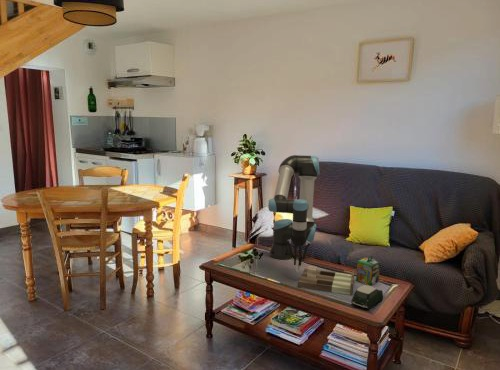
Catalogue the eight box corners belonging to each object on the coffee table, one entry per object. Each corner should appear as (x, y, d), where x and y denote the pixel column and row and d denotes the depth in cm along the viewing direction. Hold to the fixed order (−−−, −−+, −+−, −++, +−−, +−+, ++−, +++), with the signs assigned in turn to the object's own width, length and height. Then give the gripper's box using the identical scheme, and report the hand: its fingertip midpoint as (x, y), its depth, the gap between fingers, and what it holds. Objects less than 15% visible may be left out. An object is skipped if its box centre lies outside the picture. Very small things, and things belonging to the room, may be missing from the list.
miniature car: (384, 299, 186) (385, 284, 185) (367, 312, 173) (368, 295, 172) (366, 293, 192) (368, 278, 191) (349, 305, 179) (350, 289, 178)
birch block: (308, 273, 208) (308, 266, 207) (316, 275, 206) (317, 267, 206) (307, 277, 203) (307, 268, 203) (315, 278, 202) (316, 270, 201)
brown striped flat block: (304, 273, 216) (305, 263, 215) (353, 280, 208) (354, 269, 207) (298, 287, 197) (298, 276, 196) (352, 295, 189) (352, 283, 188)
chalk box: (363, 276, 214) (365, 251, 212) (379, 281, 208) (381, 255, 205) (355, 280, 208) (357, 254, 205) (370, 286, 201) (373, 259, 199)
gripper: (285, 229, 202) (283, 271, 205) (310, 231, 198) (308, 275, 201) (288, 225, 209) (286, 267, 212) (312, 228, 205) (310, 270, 208)
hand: (297, 271), depth 207 cm, fingers closed
